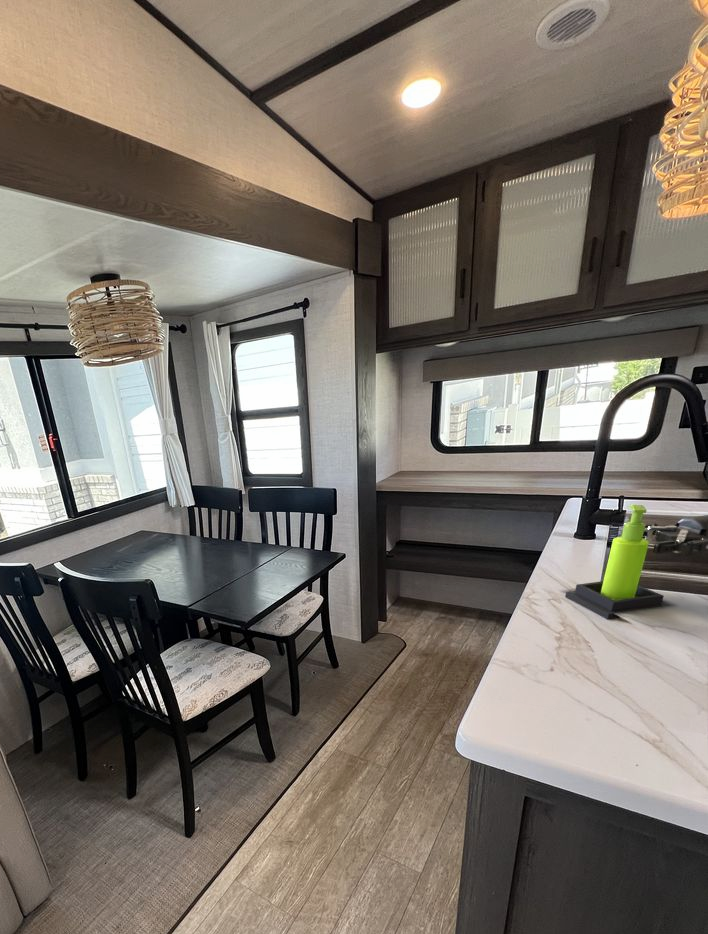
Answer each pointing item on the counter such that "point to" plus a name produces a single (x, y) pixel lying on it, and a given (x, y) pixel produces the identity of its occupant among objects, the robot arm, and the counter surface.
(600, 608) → the black square tray
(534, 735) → the counter surface
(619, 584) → the soap dispenser
